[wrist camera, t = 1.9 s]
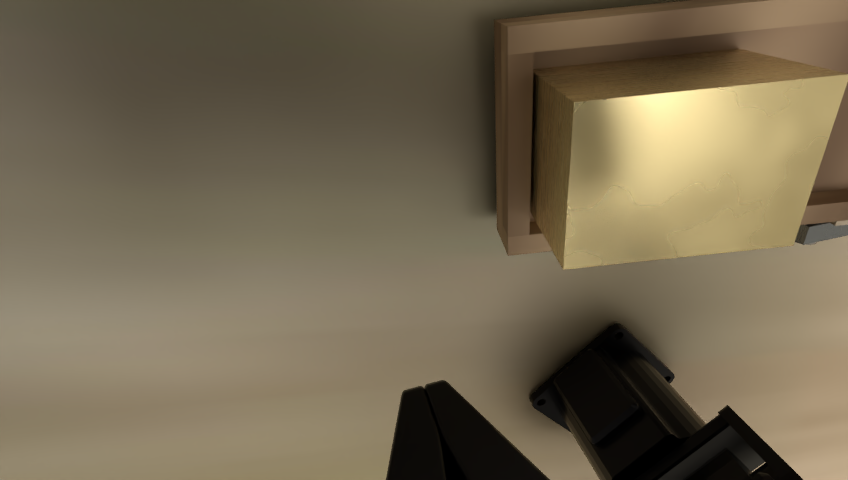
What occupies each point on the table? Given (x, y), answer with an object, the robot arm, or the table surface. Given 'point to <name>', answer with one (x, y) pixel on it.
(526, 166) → the brown long shallow tray
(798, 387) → the table surface
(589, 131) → the block
